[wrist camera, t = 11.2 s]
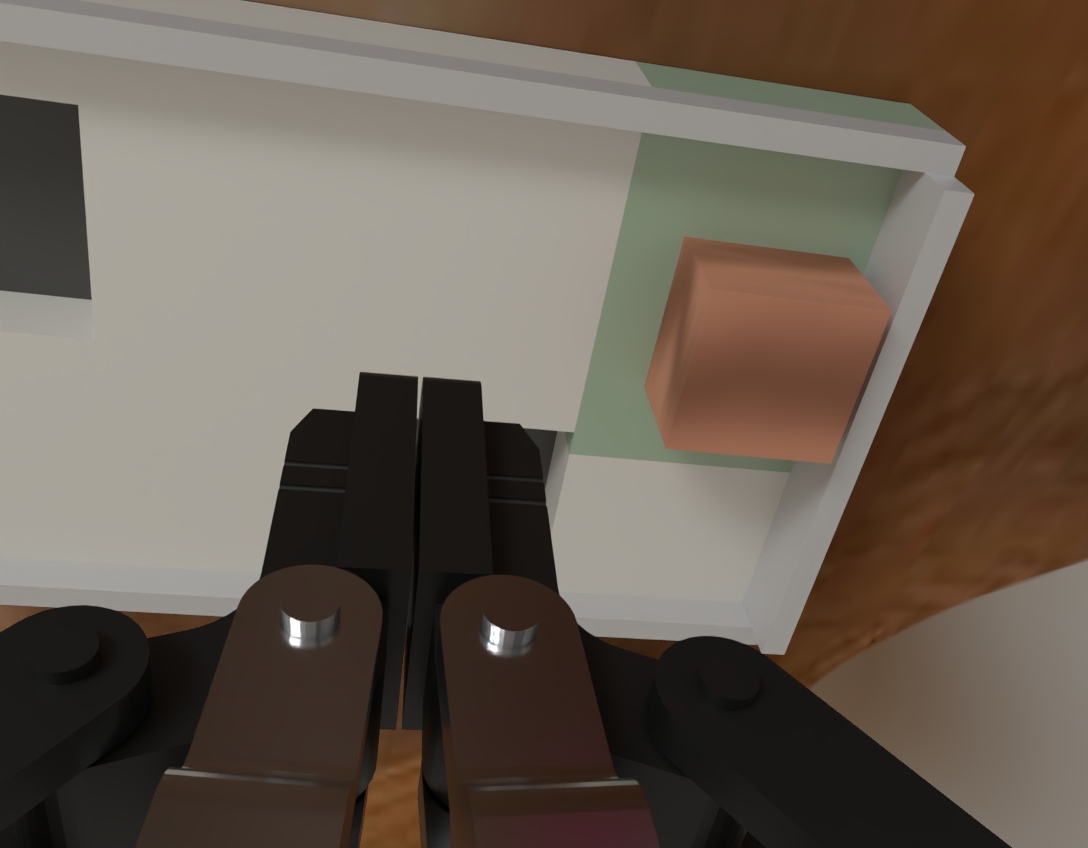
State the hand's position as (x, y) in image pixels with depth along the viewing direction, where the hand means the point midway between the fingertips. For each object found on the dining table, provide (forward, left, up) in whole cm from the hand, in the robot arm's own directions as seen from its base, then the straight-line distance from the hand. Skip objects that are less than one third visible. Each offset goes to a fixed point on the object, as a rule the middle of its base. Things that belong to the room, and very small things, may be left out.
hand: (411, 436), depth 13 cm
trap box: (+12, 0, -24) cm, 27 cm away
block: (+8, +13, -21) cm, 26 cm away
